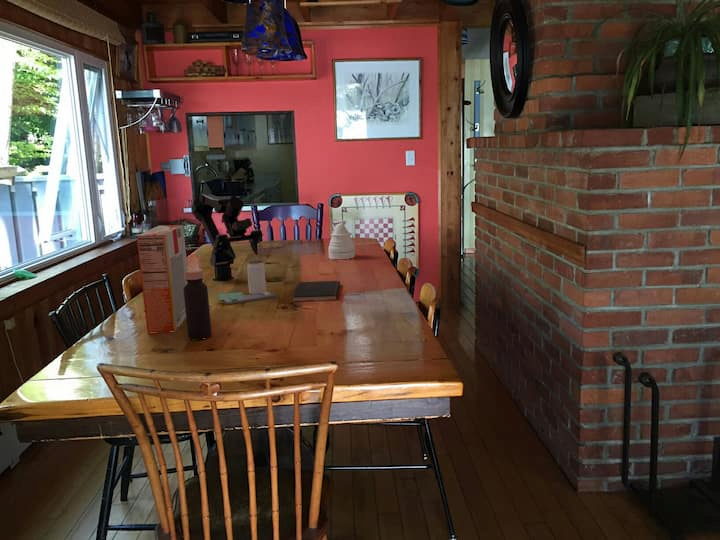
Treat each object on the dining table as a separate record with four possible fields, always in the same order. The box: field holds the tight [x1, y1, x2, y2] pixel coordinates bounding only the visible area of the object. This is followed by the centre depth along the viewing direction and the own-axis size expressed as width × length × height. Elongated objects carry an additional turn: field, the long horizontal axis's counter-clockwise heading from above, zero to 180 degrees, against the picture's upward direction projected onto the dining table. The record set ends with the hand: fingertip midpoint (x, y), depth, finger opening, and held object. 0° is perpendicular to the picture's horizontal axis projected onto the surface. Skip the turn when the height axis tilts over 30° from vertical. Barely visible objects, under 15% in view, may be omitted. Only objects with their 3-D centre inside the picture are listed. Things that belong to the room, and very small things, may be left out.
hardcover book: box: [291, 280, 341, 302], centre depth 225 cm, size 16×23×2 cm
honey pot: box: [327, 220, 356, 260], centre depth 292 cm, size 13×13×18 cm
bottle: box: [183, 268, 213, 340], centre depth 175 cm, size 7×7×20 cm
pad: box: [217, 291, 245, 302], centre depth 224 cm, size 9×9×1 cm
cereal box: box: [136, 224, 189, 334], centre depth 191 cm, size 23×8×30 cm, turn 2°
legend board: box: [223, 290, 277, 305], centre depth 219 cm, size 18×6×1 cm, turn 116°
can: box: [246, 260, 267, 295], centre depth 227 cm, size 6×6×12 cm
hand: (246, 256), depth 232 cm, fingers open, 9 cm apart
